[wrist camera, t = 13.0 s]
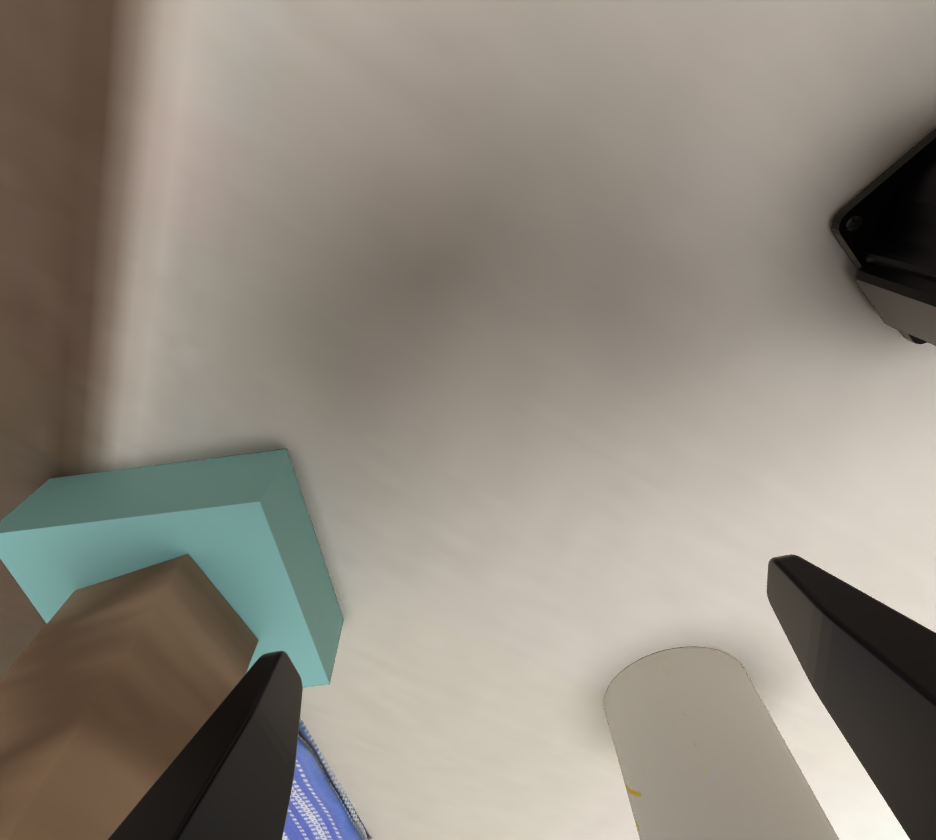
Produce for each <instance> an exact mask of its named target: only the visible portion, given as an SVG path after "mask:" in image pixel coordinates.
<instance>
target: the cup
mask: <svg viewBox="0 0 936 840" xmlns="http://www.w3.org/2000/svg"><path fill="white" fill-rule="evenodd" d="M604 709H605V713H606V717H607V720H608V724H609V728H610V731H611V735H612V739H613V742H614V746H615V749H616V753H617V757H618V760H619V764H620V768H621V771H622V775H623V779H624V782H625V786H626V790H627V793H628V797H629V801H630V804H631V808H632V812H633V815H634V819H635V823H636V826H637V830H638V834H639V837H640V840H839V838H838V836H837V835H836V833H835V831H834V829H833V827H832V826H831V824H830V822H829V820H828V818H827V817H826V815H825V813H824V811H823V809H822V808H821V806H820V804H819V802H818V800H817V799H816V797H815V795H814V793H813V791H812V790H811V788H810V786H809V784H808V782H807V781H806V779H805V777H804V775H803V773H802V772H801V770H800V768H799V766H798V764H797V763H796V761H795V759H794V757H793V756H792V754H791V752H790V750H789V748H788V747H787V745H786V743H785V741H784V739H783V738H782V736H781V734H780V732H779V730H778V729H777V727H776V725H775V723H774V721H773V720H772V718H771V716H770V714H769V712H768V711H767V709H766V707H765V705H764V703H763V702H762V700H761V698H760V696H759V694H758V693H757V691H756V689H755V687H754V685H753V684H752V682H751V680H750V678H749V676H748V675H747V673H746V671H745V669H744V668H743V666H742V665H741V664H740V663H739V662H738V661H737V660H736V659H735V658H733V657H732V656H730V655H728V654H726V653H724V652H721V651H718V650H714V649H710V648H702V647H682V648H674V649H669V650H664V651H661V652H657V653H654V654H651V655H649V656H646V657H644V658H642V659H640V660H638V661H636V662H634V663H633V664H631V665H630V666H628V667H627V668H625V669H624V670H623V671H622V672H621V673H619V674H618V675H617V676H616V677H615V679H614V680H613V681H612V682H611V684H610V685H609V687H608V689H607V691H606V694H605V698H604Z"/></svg>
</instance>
